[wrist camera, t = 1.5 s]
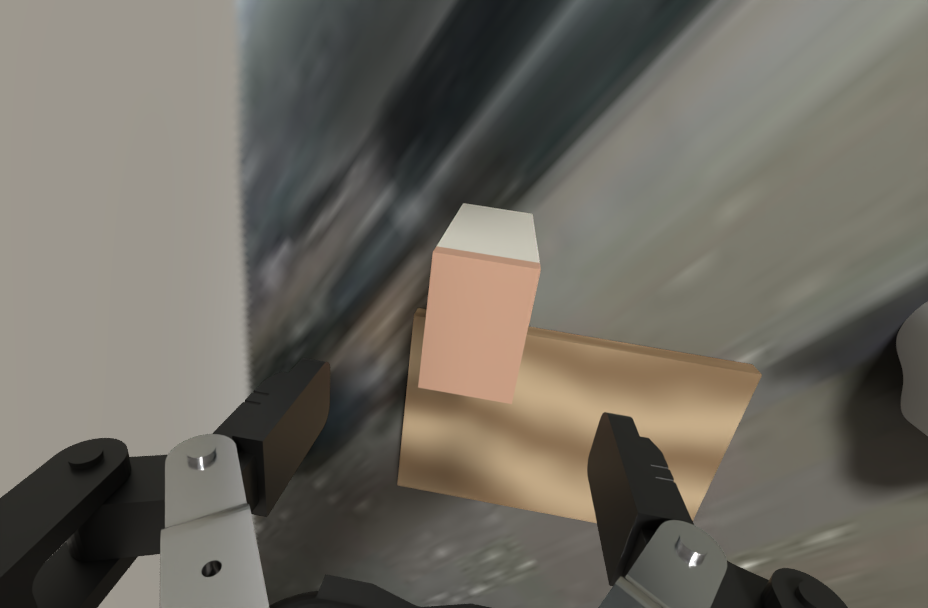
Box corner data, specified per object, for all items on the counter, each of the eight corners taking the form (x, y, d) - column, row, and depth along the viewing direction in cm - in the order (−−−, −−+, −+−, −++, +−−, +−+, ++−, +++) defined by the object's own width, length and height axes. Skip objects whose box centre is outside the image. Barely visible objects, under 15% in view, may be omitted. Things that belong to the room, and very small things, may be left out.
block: (463, 203, 26) (433, 252, 16) (532, 213, 25) (540, 269, 16) (450, 298, 28) (418, 387, 19) (513, 308, 28) (511, 404, 19)
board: (417, 307, 28) (413, 315, 27) (752, 364, 27) (762, 374, 26) (401, 473, 34) (397, 485, 33) (678, 525, 33) (683, 539, 32)
